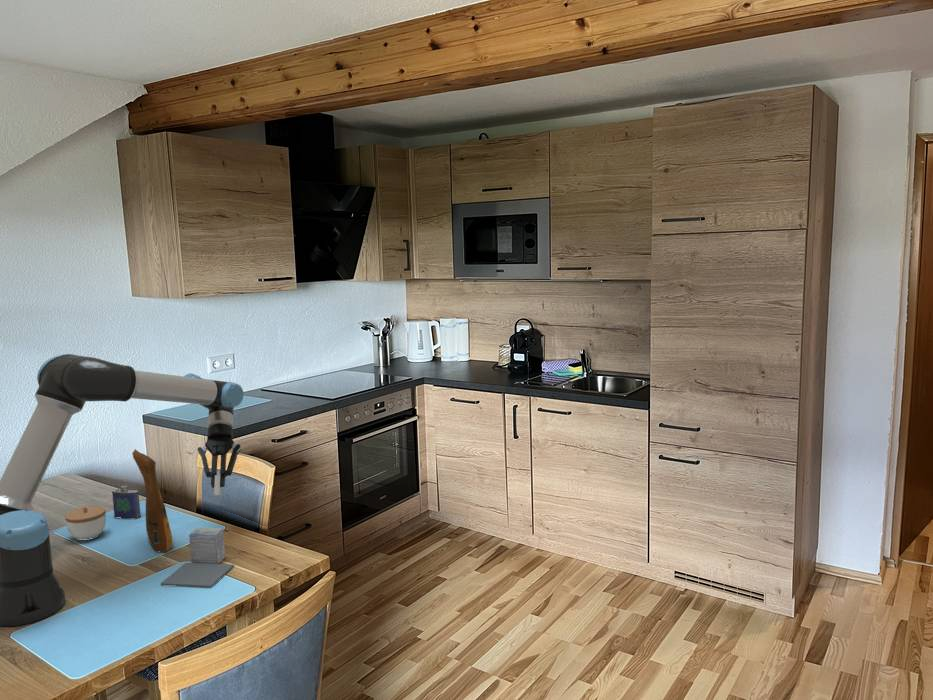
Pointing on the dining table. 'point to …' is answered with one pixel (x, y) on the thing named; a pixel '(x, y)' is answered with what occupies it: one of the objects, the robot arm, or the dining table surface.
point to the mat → (197, 574)
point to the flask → (126, 503)
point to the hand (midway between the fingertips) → (217, 496)
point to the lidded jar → (86, 522)
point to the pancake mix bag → (154, 505)
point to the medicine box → (207, 545)
